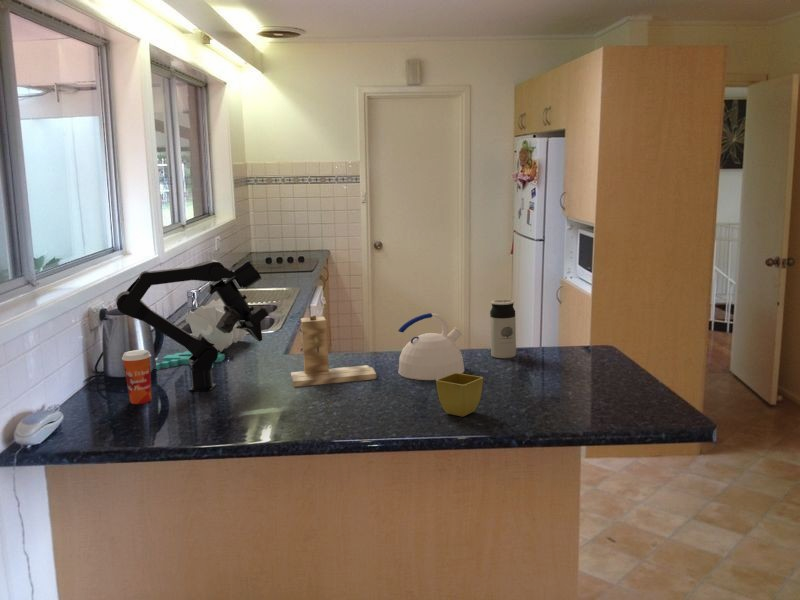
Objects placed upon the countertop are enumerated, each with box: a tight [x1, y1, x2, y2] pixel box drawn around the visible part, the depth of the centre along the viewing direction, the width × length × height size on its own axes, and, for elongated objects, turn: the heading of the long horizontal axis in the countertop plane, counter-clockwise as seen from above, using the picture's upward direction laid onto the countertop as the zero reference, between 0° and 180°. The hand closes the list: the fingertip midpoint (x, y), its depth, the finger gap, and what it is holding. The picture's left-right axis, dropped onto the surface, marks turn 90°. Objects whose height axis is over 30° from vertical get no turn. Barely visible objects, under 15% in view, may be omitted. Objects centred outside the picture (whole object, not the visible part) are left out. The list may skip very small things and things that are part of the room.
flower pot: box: [435, 373, 484, 417], centre depth 185 cm, size 9×9×9 cm
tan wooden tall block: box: [300, 314, 330, 374], centre depth 217 cm, size 7×16×18 cm, turn 12°
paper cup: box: [121, 349, 152, 405], centre depth 206 cm, size 8×8×14 cm
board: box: [290, 364, 377, 388], centre depth 221 cm, size 24×16×2 cm, turn 102°
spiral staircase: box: [185, 297, 248, 353], centre depth 269 cm, size 18×18×25 cm
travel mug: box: [489, 298, 517, 359], centre depth 238 cm, size 8×8×18 cm
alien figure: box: [155, 350, 226, 371], centre depth 250 cm, size 20×2×20 cm
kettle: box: [397, 312, 465, 381], centre depth 224 cm, size 20×21×18 cm
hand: (260, 340), depth 222 cm, fingers closed
